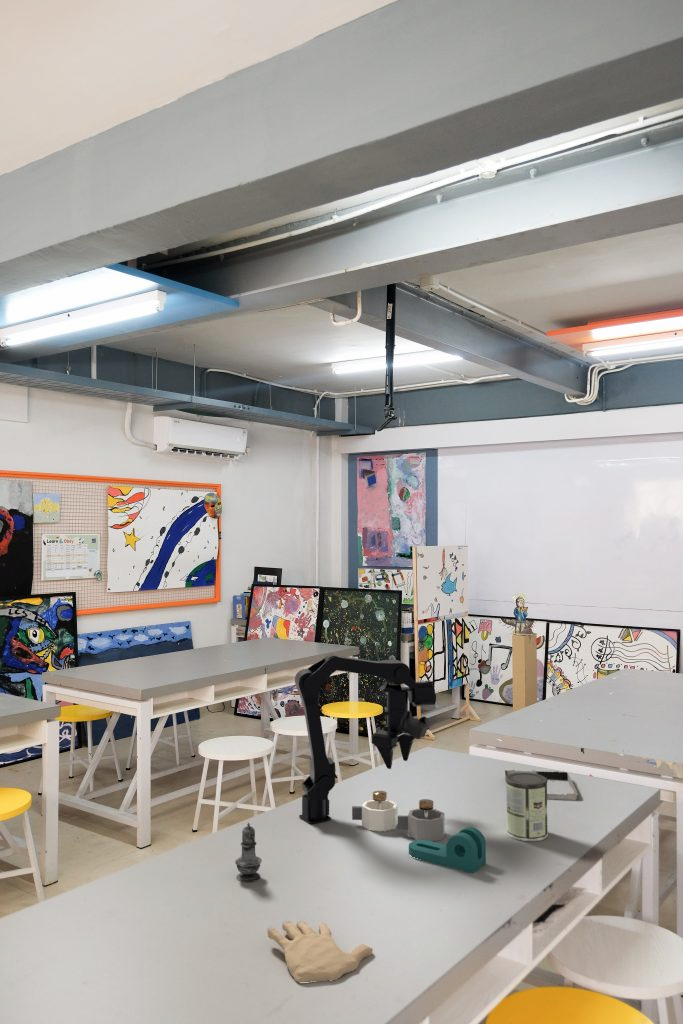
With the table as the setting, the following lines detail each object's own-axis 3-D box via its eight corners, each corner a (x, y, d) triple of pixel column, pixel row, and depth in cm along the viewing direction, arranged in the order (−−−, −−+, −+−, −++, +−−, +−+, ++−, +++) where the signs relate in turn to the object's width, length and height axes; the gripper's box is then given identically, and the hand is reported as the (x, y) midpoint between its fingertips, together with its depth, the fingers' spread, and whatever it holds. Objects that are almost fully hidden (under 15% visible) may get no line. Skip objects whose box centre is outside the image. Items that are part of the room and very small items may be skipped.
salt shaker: (240, 884, 180) (240, 829, 180) (231, 874, 185) (231, 820, 185) (265, 879, 182) (265, 824, 182) (255, 869, 187) (256, 816, 188)
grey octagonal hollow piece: (417, 845, 202) (417, 824, 202) (395, 834, 209) (395, 813, 209) (451, 837, 207) (450, 816, 207) (429, 826, 215) (428, 806, 215)
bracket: (485, 864, 191) (485, 829, 191) (473, 874, 185) (473, 838, 186) (417, 847, 201) (417, 814, 201) (403, 856, 195) (403, 823, 196)
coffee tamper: (424, 838, 205) (424, 806, 205) (410, 831, 209) (410, 800, 210) (441, 833, 208) (441, 802, 208) (428, 826, 212) (428, 796, 213)
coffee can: (519, 823, 216) (519, 769, 217) (555, 833, 209) (555, 777, 210) (498, 834, 209) (498, 778, 209) (534, 845, 202) (534, 787, 202)
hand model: (272, 974, 139) (266, 905, 159) (271, 999, 140) (264, 927, 160) (382, 970, 142) (362, 903, 162) (380, 995, 143) (360, 925, 162)
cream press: (369, 835, 209) (369, 814, 209) (350, 824, 216) (350, 804, 216) (403, 826, 214) (403, 806, 214) (383, 816, 222) (383, 797, 222)
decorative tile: (578, 805, 235) (571, 781, 254) (578, 794, 235) (571, 771, 254) (506, 801, 238) (504, 778, 258) (506, 791, 238) (504, 768, 258)
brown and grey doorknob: (376, 828, 212) (376, 797, 212) (364, 821, 216) (364, 791, 217) (394, 823, 215) (394, 793, 215) (382, 817, 219) (382, 788, 220)
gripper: (407, 717, 214) (407, 778, 213) (439, 704, 229) (439, 761, 229) (370, 712, 220) (370, 771, 219) (403, 700, 235) (403, 755, 235)
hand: (397, 764), depth 226 cm, fingers open, 9 cm apart
